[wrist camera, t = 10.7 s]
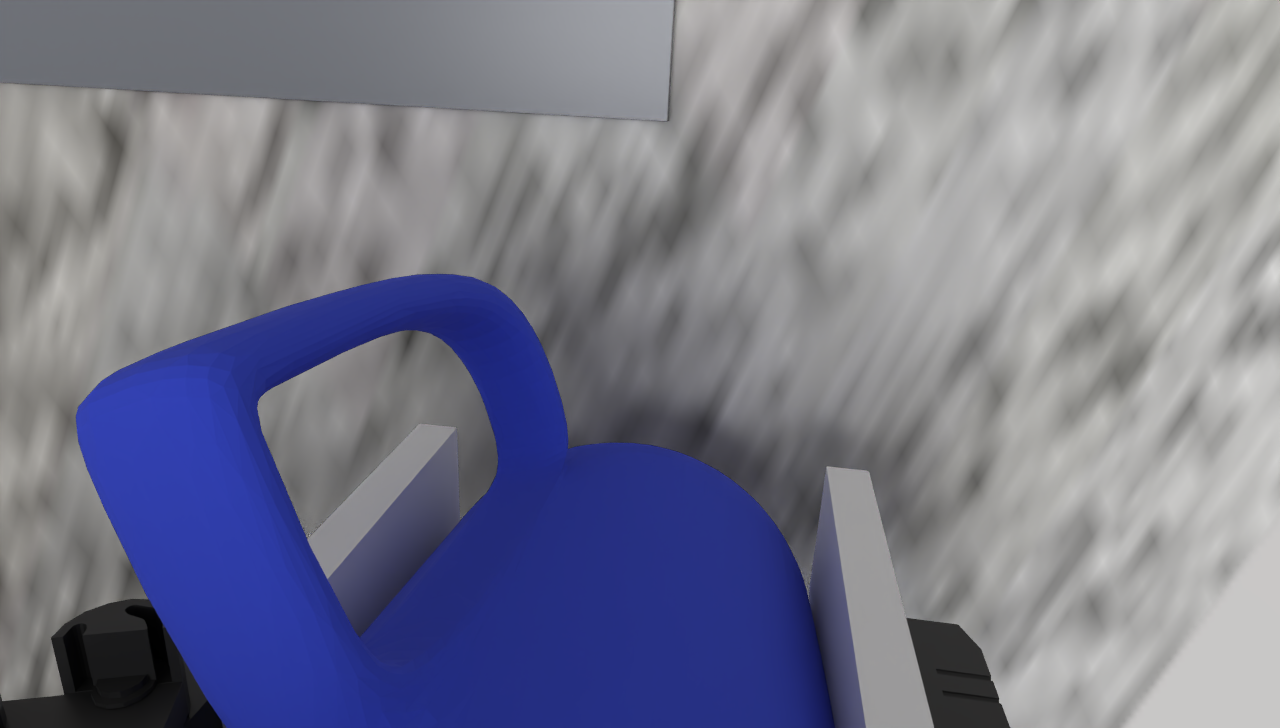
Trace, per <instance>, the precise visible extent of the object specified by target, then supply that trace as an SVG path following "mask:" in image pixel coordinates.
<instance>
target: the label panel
mask: <svg viewBox="0 0 1280 728" xmlns="http://www.w3.org/2000/svg"><path fill="white" fill-rule="evenodd" d="M674 11H675V0H0V82H3V83H21V84H38V85H55V86H72V87H89V88H106V89H123V90H141V91H158V92H175V93H192V94H209V95H226V96H243V97H261V98H278V99H295V100H312V101H329V102H346V103H363V104H381V105H398V106H415V107H432V108H449V109H466V110H484V111H501V112H518V113H535V114H552V115H569V116H586V117H604V118H621V119H638V120H655V121H668V117H669V100H670V82H671V64H672V47H673V29H674Z"/></svg>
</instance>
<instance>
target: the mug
mask: <svg viewBox="0 0 1280 728" xmlns="http://www.w3.org/2000/svg"><path fill="white" fill-rule="evenodd" d="M404 330H418V331H423V332H427V333H431V334H433V335H434V336H436V337H438V338H440V339H442V340H443V341H444V342H445V343H446V344H447V345H449V346H450V347H451V348H452V349H453V351H454V352H455V353H456V354H457V355H458V357H459V358H460V359H461V360H462V362H463V363H464V365H465V366H466V368H467V370H468V371H469V373H470V374H471V376H472V378H473V380H474V382H475V384H476V386H477V388H478V390H479V392H480V394H481V397H482V399H483V402H484V404H485V407H486V410H487V413H488V416H489V420H490V423H491V426H492V429H493V432H494V435H495V439H496V445H497V452H498V467H497V474H496V477H495V479H494V481H493V483H492V485H491V487H490V489H489V490H488V492H487V493H486V494H485V495H484V496H483V497H482V498H481V499H480V500H479V501H478V502H477V503H476V504H475V505H474V506H473V507H472V508H471V509H470V510H469V511H468V512H467V514H466V515H465V516H464V517H463V518H462V519H461V521H460V522H459V523H458V524H457V525H456V526H455V527H454V529H453V530H452V531H451V532H450V533H449V534H448V536H447V537H446V538H445V539H444V540H443V541H442V543H441V544H440V545H439V546H438V547H437V548H436V549H435V551H434V552H433V553H432V554H431V555H430V556H429V558H428V559H427V560H426V561H425V562H424V563H423V565H422V566H421V567H420V568H419V569H418V570H417V571H416V573H415V574H414V575H413V576H412V577H411V578H410V580H409V581H408V582H407V583H406V584H405V585H404V587H403V588H402V589H401V590H400V591H399V592H398V593H397V595H396V596H395V597H394V598H393V599H392V600H391V602H390V603H389V604H388V605H387V606H386V607H385V609H384V610H383V611H382V612H381V613H380V614H379V615H378V617H377V618H376V619H375V620H374V621H373V622H372V624H371V625H370V626H369V627H368V628H367V629H366V631H365V632H364V633H363V634H362V635H361V636H360V637H359V636H358V635H357V634H356V632H355V631H354V629H353V627H352V625H351V623H350V621H349V619H348V617H347V615H346V614H345V612H344V610H343V608H342V606H341V604H340V602H339V600H338V598H337V596H336V595H335V593H334V591H333V589H332V587H331V585H330V583H329V581H328V579H327V577H326V575H325V574H324V572H323V570H322V568H321V566H320V564H319V562H318V560H317V558H316V556H315V555H314V553H313V551H312V549H311V547H310V545H309V543H308V540H307V538H306V535H305V533H304V531H303V528H302V526H301V524H300V521H299V519H298V517H297V514H296V512H295V509H294V507H293V505H292V502H291V500H290V498H289V495H288V493H287V491H286V488H285V486H284V483H283V481H282V479H281V476H280V474H279V472H278V469H277V467H276V464H275V462H274V460H273V457H272V455H271V453H270V450H269V448H268V446H267V443H266V441H265V438H264V436H263V434H262V431H261V426H260V421H259V416H258V410H257V405H258V401H259V399H260V397H261V396H262V395H263V394H264V393H265V392H267V391H268V390H270V389H271V388H273V387H275V386H277V385H279V384H281V383H283V382H285V381H287V380H289V379H291V378H293V377H295V376H297V375H299V374H301V373H303V372H305V371H307V370H309V369H311V368H313V367H315V366H317V365H319V364H321V363H323V362H325V361H327V360H329V359H331V358H333V357H335V356H337V355H339V354H341V353H343V352H345V351H348V350H350V349H352V348H355V347H357V346H359V345H362V344H364V343H367V342H369V341H371V340H374V339H376V338H378V337H381V336H385V335H388V334H392V333H395V332H398V331H404ZM76 424H77V433H78V442H79V445H80V448H81V451H82V454H83V457H84V461H85V464H86V467H87V470H88V472H89V474H90V476H91V479H92V481H93V483H94V486H95V488H96V490H97V493H98V495H99V497H100V500H101V502H102V504H103V507H104V509H105V511H106V513H107V515H108V517H109V519H110V521H111V523H112V525H113V527H114V529H115V531H116V533H117V536H118V538H119V540H120V542H121V544H122V546H123V548H124V550H125V552H126V554H127V556H128V558H129V560H130V562H131V564H132V566H133V568H134V571H135V573H136V575H137V577H138V579H139V581H140V583H141V585H142V587H143V589H144V591H145V593H146V595H147V597H148V599H149V601H150V602H151V604H152V606H153V607H154V609H155V611H156V613H157V614H158V616H159V618H160V619H161V621H162V623H163V625H164V626H165V628H166V630H167V632H168V633H169V635H170V637H171V638H172V640H173V642H174V644H175V645H176V647H177V649H178V650H179V652H180V654H181V656H182V657H183V659H184V661H185V663H186V664H187V666H188V668H189V669H190V671H191V673H192V675H193V676H194V678H195V680H196V682H197V683H198V685H199V687H200V688H201V690H202V692H203V694H204V695H205V697H206V699H207V700H208V702H209V703H210V705H211V706H212V707H213V709H214V710H215V712H216V713H217V715H218V716H219V718H220V719H221V721H222V722H223V724H224V725H225V726H226V728H835V725H834V719H833V713H832V707H831V702H830V697H829V692H828V687H827V682H826V677H825V672H824V667H823V662H822V657H821V652H820V648H819V643H818V638H817V634H816V629H815V625H814V620H813V615H812V611H811V607H810V603H809V599H808V595H807V591H806V587H805V584H804V580H803V577H802V574H801V572H800V569H799V567H798V564H797V562H796V560H795V558H794V556H793V554H792V552H791V550H790V548H789V546H788V544H787V542H786V540H785V538H784V537H783V535H782V534H781V532H780V530H779V529H778V527H777V526H776V524H775V523H774V522H773V520H772V519H771V518H770V517H769V515H768V514H767V513H766V512H765V510H764V509H763V508H762V507H761V506H760V505H759V504H758V503H757V502H756V501H755V499H754V498H753V497H751V496H750V495H749V494H748V493H747V492H746V491H745V490H743V489H742V488H741V487H740V486H739V485H737V484H736V483H735V482H734V481H733V480H731V479H730V478H728V477H727V476H725V475H724V474H722V473H721V472H719V471H718V470H716V469H714V468H712V467H711V466H709V465H707V464H705V463H703V462H701V461H699V460H697V459H694V458H692V457H690V456H687V455H685V454H682V453H680V452H677V451H673V450H669V449H666V448H661V447H657V446H653V445H646V444H637V443H599V444H590V445H583V446H577V447H573V448H569V449H568V432H567V423H566V418H565V414H564V409H563V405H562V401H561V397H560V394H559V391H558V388H557V385H556V381H555V378H554V375H553V372H552V369H551V367H550V364H549V362H548V359H547V357H546V355H545V352H544V350H543V348H542V345H541V343H540V341H539V339H538V337H537V335H536V334H535V332H534V330H533V328H532V326H531V325H530V323H529V322H528V320H527V319H526V317H525V316H524V314H523V313H522V312H521V310H520V309H519V308H518V307H517V306H516V305H515V304H514V303H513V301H512V300H511V299H510V298H509V297H507V296H506V295H505V294H504V293H502V292H501V291H500V290H499V289H497V288H496V287H494V286H492V285H490V284H488V283H486V282H483V281H481V280H478V279H476V278H473V277H467V276H460V275H453V274H422V275H411V276H404V277H398V278H391V279H387V280H382V281H378V282H374V283H369V284H365V285H361V286H357V287H353V288H350V289H346V290H342V291H338V292H335V293H331V294H327V295H324V296H321V297H317V298H314V299H310V300H307V301H303V302H300V303H297V304H293V305H290V306H286V307H284V308H281V309H278V310H275V311H272V312H269V313H266V314H263V315H261V316H258V317H255V318H252V319H249V320H246V321H243V322H241V323H238V324H235V325H232V326H229V327H226V328H223V329H220V330H218V331H215V332H212V333H209V334H206V335H203V336H200V337H197V338H195V339H192V340H189V341H186V342H184V343H181V344H178V345H176V346H173V347H170V348H168V349H165V350H163V351H160V352H158V353H155V354H153V355H151V356H149V357H146V358H144V359H142V360H140V361H138V362H135V363H133V364H131V365H129V366H127V367H124V368H122V369H120V370H118V371H116V372H115V373H113V374H112V375H110V376H108V377H107V378H105V379H104V380H102V381H101V382H100V383H99V384H98V385H97V386H96V387H95V388H94V389H93V390H92V392H91V393H90V394H89V395H88V396H87V397H86V399H85V400H84V401H83V402H82V403H81V404H80V405H79V407H78V410H77V414H76Z"/></svg>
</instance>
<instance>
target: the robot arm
mask: <svg viewBox="0 0 1280 728" xmlns="http://www.w3.org/2000/svg"><path fill="white" fill-rule="evenodd" d="M459 522H460V501H459V470H458V438H457V427H448V426H439V425H429V424H420V423H419V424H418V425H417V427H416V428H415V429H414V430H413V431H412V432H411V433H410V434H409V435H408V436H407V437H406V438H405V439H404V440H403V441H402V442H401V443H400V444H399V445H398V446H397V447H396V448H395V449H394V450H393V451H392V452H391V453H390V454H389V455H388V456H387V457H386V459H385V460H384V461H383V462H382V463H381V464H380V465H379V466H378V467H377V468H376V469H375V470H374V471H373V472H372V473H371V474H370V475H369V476H368V477H367V478H366V479H365V480H364V481H363V482H362V483H361V484H360V485H359V486H358V487H357V488H356V489H355V490H354V492H353V493H352V494H351V495H350V496H349V497H348V498H347V499H346V500H345V501H344V502H343V503H342V504H341V505H340V506H339V507H338V508H337V509H336V510H335V511H334V512H333V513H332V514H331V515H330V516H329V517H328V518H327V519H326V520H325V521H324V522H323V524H322V525H321V526H320V527H319V528H318V529H317V530H316V531H315V532H314V533H313V534H312V535H311V536H310V537H309V538H308V539H307V540H308V543H309V545H310V547H311V549H312V551H313V553H314V555H315V556H316V558H317V560H318V562H319V564H320V566H321V568H322V570H323V572H324V574H325V575H326V577H327V579H328V581H329V583H330V585H331V587H332V589H333V591H334V593H335V595H336V596H337V598H338V600H339V602H340V604H341V606H342V608H343V610H344V612H345V614H346V615H347V617H348V619H349V621H350V623H351V625H352V627H353V629H354V631H355V632H356V634H357V635H358V636H359V637H360V636H361V635H362V634H363V633H364V632H365V631H366V629H367V628H368V627H369V626H370V625H371V624H372V622H373V621H374V620H375V619H376V618H377V617H378V615H379V614H380V613H381V612H382V611H383V610H384V609H385V607H386V606H387V605H388V604H389V603H390V602H391V600H392V599H393V598H394V597H395V596H396V595H397V593H398V592H399V591H400V590H401V589H402V588H403V587H404V585H405V584H406V583H407V582H408V581H409V580H410V578H411V577H412V576H413V575H414V574H415V573H416V571H417V570H418V569H419V568H420V567H421V566H422V565H423V563H424V562H425V561H426V560H427V559H428V558H429V556H430V555H431V554H432V553H433V552H434V551H435V549H436V548H437V547H438V546H439V545H440V544H441V543H442V541H443V540H444V539H445V538H446V537H447V536H448V534H449V533H450V532H451V531H452V530H453V529H454V527H455V526H456V525H457V524H458V523H459ZM809 599H810V607H811V611H812V615H813V620H814V625H815V629H816V634H817V638H818V643H819V648H820V652H821V657H822V662H823V667H824V672H825V677H826V682H827V687H828V692H829V697H830V702H831V707H832V713H833V719H834V725H835V728H1010V726H1009V724H1008V721H1007V718H1006V716H1005V713H1004V710H1003V707H1002V705H1001V704H999V697H998V694H997V691H996V688H995V686H994V683H993V681H991V675H990V672H989V669H988V667H987V664H986V661H985V659H984V656H983V653H982V650H981V649H980V648H979V647H978V646H977V644H976V643H975V642H974V641H973V640H972V639H971V638H970V637H969V636H968V635H967V634H966V633H965V632H964V630H963V629H962V628H961V627H960V626H959V625H957V624H949V623H941V622H933V621H925V620H917V619H909V618H906V615H905V611H904V607H903V603H902V599H901V595H900V592H899V588H898V584H897V580H896V576H895V572H894V568H893V564H892V560H891V556H890V552H889V548H888V544H887V540H886V537H885V533H884V529H883V525H882V521H881V517H880V513H879V509H878V505H877V501H876V497H875V493H874V489H873V485H872V481H871V478H870V474H869V471H866V470H856V469H847V468H837V467H828V466H826V473H825V480H824V487H823V495H822V502H821V509H820V516H819V523H818V531H817V538H816V545H815V552H814V559H813V567H812V574H811V581H810V588H809ZM51 640H52V644H53V648H54V652H55V657H56V661H57V665H58V669H59V673H60V677H61V682H62V686H63V690H64V695H60V696H52V697H42V698H32V699H22V700H11V701H2V699H1V695H0V728H226V726H225V725H224V724H223V722H222V721H221V719H220V718H219V716H218V715H217V713H216V712H215V710H214V709H213V707H212V706H211V705H210V703H209V702H208V700H207V699H206V697H205V695H204V694H203V692H202V690H201V688H200V687H199V685H198V683H197V682H196V680H195V678H194V676H193V675H192V673H191V671H190V669H189V668H188V666H187V664H186V663H185V661H184V659H183V657H182V656H181V654H180V652H179V650H178V649H177V647H176V645H175V644H174V642H173V640H172V638H171V637H170V635H169V633H168V632H167V630H166V628H165V626H164V625H163V623H162V621H161V619H160V618H159V616H158V614H157V613H156V611H155V609H154V607H153V606H152V604H151V602H150V601H149V600H146V599H130V600H125V601H119V602H113V603H108V604H106V605H103V606H100V607H97V608H95V609H92V610H89V611H86V612H84V613H83V614H81V615H79V616H78V617H76V618H74V619H72V620H71V621H69V622H67V623H66V624H64V625H63V626H62V627H61V628H60V629H59V630H58V631H57V632H56V633H55V634H54V635H53V636H52V638H51Z"/></svg>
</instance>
